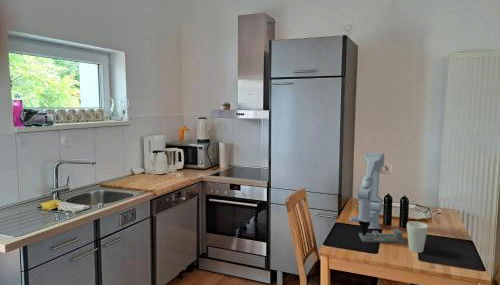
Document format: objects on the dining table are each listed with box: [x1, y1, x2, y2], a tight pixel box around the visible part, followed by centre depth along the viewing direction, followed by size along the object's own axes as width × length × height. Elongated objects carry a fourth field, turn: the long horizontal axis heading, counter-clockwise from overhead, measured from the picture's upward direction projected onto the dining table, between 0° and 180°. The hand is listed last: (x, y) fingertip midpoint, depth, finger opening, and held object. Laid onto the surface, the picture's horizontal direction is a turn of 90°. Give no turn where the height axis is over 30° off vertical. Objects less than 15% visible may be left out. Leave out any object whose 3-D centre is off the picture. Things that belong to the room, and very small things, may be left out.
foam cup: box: [406, 220, 429, 254], centre depth 171 cm, size 10×9×13 cm
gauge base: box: [358, 228, 407, 244], centre depth 186 cm, size 10×22×4 cm, turn 85°
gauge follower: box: [371, 230, 380, 237], centre depth 185 cm, size 6×3×2 cm, turn 175°
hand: (363, 234), depth 186 cm, fingers closed
